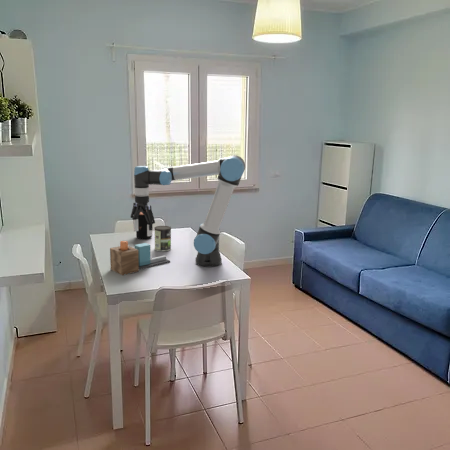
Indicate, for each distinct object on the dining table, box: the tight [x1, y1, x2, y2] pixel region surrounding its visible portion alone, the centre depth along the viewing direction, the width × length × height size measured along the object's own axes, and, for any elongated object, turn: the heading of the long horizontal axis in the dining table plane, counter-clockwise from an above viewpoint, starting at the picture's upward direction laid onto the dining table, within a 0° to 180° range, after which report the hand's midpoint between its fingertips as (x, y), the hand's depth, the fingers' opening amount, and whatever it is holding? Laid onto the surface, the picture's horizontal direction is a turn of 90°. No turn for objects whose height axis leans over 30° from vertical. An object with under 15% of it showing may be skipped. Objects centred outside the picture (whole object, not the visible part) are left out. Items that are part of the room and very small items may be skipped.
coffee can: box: [154, 225, 172, 252], centre depth 280 cm, size 10×10×14 cm
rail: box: [139, 255, 171, 271], centre depth 251 cm, size 8×22×3 cm, turn 133°
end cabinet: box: [109, 245, 140, 276], centre depth 239 cm, size 12×11×12 cm
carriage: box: [134, 242, 151, 266], centre depth 247 cm, size 5×7×11 cm
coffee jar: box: [135, 212, 153, 240], centre depth 304 cm, size 11×11×18 cm
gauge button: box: [119, 240, 129, 251], centre depth 238 cm, size 4×4×6 cm
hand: (142, 233), depth 244 cm, fingers open, 13 cm apart
